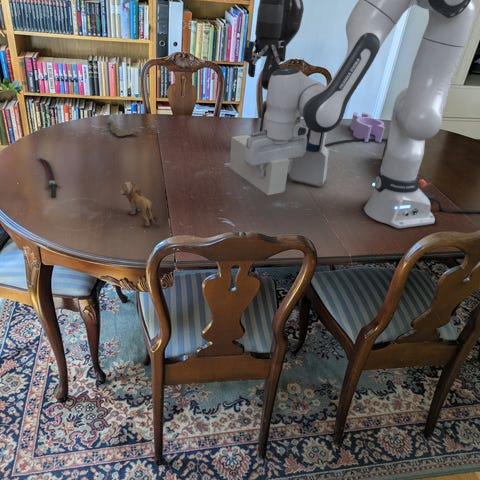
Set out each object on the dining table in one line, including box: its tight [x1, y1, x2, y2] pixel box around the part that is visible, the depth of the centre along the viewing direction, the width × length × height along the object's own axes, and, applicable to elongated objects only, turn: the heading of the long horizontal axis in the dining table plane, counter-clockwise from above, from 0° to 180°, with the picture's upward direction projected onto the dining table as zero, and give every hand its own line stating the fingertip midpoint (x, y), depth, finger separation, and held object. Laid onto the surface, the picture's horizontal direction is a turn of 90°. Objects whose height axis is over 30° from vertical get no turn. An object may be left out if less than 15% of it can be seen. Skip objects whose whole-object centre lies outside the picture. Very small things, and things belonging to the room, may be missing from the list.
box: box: [228, 134, 290, 196], centre depth 142 cm, size 21×6×10 cm, turn 34°
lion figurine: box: [119, 181, 159, 227], centre depth 134 cm, size 15×5×9 cm, turn 50°
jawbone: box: [108, 119, 142, 137], centre depth 191 cm, size 9×20×2 cm, turn 50°
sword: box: [40, 158, 59, 198], centre depth 151 cm, size 31×3×1 cm, turn 26°
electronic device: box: [288, 124, 330, 188], centre depth 159 cm, size 12×8×30 cm, turn 71°
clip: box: [349, 112, 386, 143], centre depth 214 cm, size 20×12×7 cm, turn 11°
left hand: (262, 76), depth 147 cm, fingers open, 8 cm apart
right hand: (272, 174), depth 137 cm, fingers closed on box, 6 cm apart
